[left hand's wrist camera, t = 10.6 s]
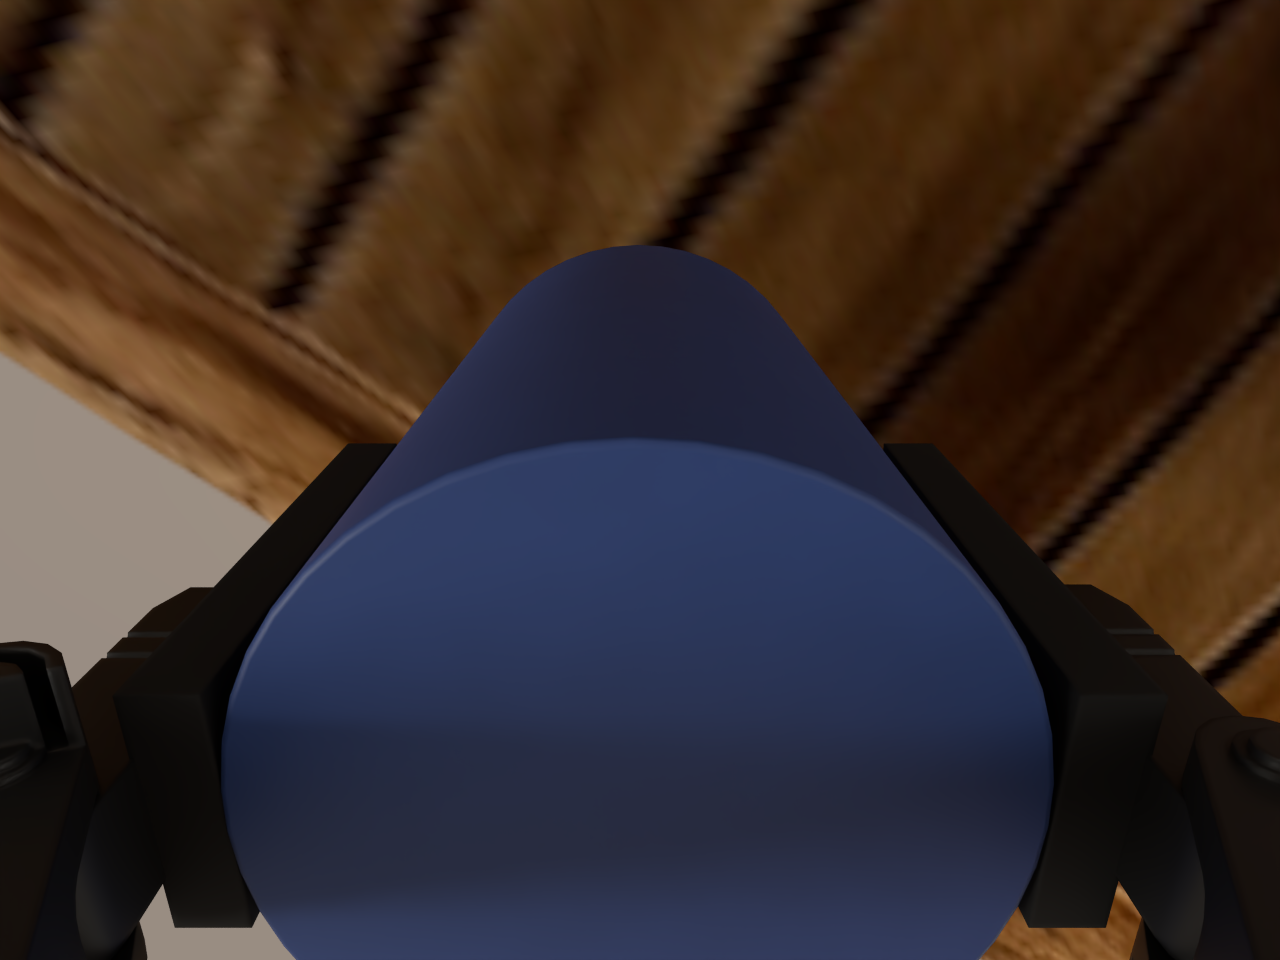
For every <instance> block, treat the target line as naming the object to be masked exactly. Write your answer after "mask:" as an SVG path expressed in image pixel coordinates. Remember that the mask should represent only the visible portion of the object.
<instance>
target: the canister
mask: <svg viewBox="0 0 1280 960" xmlns="http://www.w3.org/2000/svg"><path fill="white" fill-rule="evenodd" d="M1053 787H1054V770H1053V743H1052V732H1051V727H1050V722H1049V717H1048V712H1047V708H1046V703H1045V698H1044V693H1043V689H1042V687H1041V684H1040V682H1039V679H1038V677H1037V674H1036V672H1035V669H1034V667H1033V664H1032V662H1031V659H1030V656H1029V654H1028V651H1027V649H1026V646H1025V645H1024V643H1023V641H1022V640H1021V638H1020V636H1019V635H1018V633H1017V631H1016V630H1015V628H1014V626H1013V625H1012V623H1011V621H1010V620H1009V618H1008V616H1007V615H1006V613H1005V611H1004V610H1003V608H1002V606H1001V605H1000V603H999V602H998V600H997V599H996V598H995V596H994V595H993V594H992V593H991V591H990V590H989V589H988V587H987V586H986V585H985V583H984V582H983V581H982V579H981V578H980V577H979V576H978V574H977V573H976V572H975V570H974V569H973V568H972V566H971V565H970V564H969V562H968V561H967V560H966V558H965V557H964V556H963V555H962V553H961V552H960V551H959V549H958V548H957V547H956V545H955V544H954V543H953V541H952V540H951V539H950V538H949V536H948V535H947V534H946V532H945V531H944V530H943V528H942V527H941V526H940V524H939V523H938V522H937V520H936V519H935V518H934V517H933V515H932V514H931V513H930V511H929V510H928V509H927V507H926V506H925V505H924V503H923V502H922V501H921V500H920V498H919V497H918V496H917V494H916V493H915V492H914V490H913V489H912V488H911V486H910V485H909V484H908V482H907V481H906V480H905V479H904V477H903V476H902V475H901V473H900V472H899V471H898V469H897V468H896V467H895V465H894V464H893V463H892V462H891V460H890V459H889V458H888V456H887V455H886V454H885V452H884V451H883V450H882V448H881V447H880V446H879V444H878V443H877V442H876V441H875V439H874V438H873V437H872V435H871V434H870V433H869V431H868V430H867V429H866V427H865V426H864V425H863V424H862V422H861V421H860V420H859V418H858V417H857V416H856V414H855V413H854V412H853V410H852V409H851V408H850V406H849V405H848V404H847V403H846V401H845V400H844V399H843V397H842V396H841V395H840V393H839V392H838V391H837V389H836V388H835V387H834V385H833V384H832V383H831V382H830V380H829V379H828V378H827V376H826V375H825V374H824V372H823V371H822V370H821V368H820V367H819V366H818V365H817V363H816V362H815V361H814V359H813V358H812V357H811V355H810V354H809V353H808V351H807V350H806V349H805V347H804V346H803V345H802V344H801V342H800V341H799V340H798V338H797V337H796V336H795V334H794V333H793V332H792V330H791V329H790V328H789V327H788V325H787V324H786V323H785V321H784V320H783V319H782V317H781V316H780V315H779V314H778V312H777V311H776V310H775V309H774V308H773V306H772V305H771V304H770V303H769V302H768V300H767V299H766V298H765V297H764V296H763V295H761V294H760V293H759V292H758V291H757V290H756V289H755V288H754V287H753V286H752V285H750V284H749V283H748V282H747V281H745V280H744V279H742V278H741V277H739V276H738V275H736V274H735V273H733V272H732V271H731V270H729V269H727V268H725V267H723V266H721V265H719V264H717V263H715V262H713V261H711V260H709V259H707V258H704V257H701V256H698V255H695V254H692V253H689V252H686V251H682V250H676V249H671V248H666V247H660V246H643V245H633V246H619V247H611V248H606V249H601V250H597V251H592V252H588V253H585V254H583V255H580V256H577V257H574V258H572V259H569V260H566V261H564V262H562V263H561V264H559V265H557V266H555V267H553V268H551V269H549V270H547V271H545V272H544V273H543V274H541V275H540V276H538V277H537V278H536V279H534V280H533V281H531V282H530V283H529V284H527V285H526V286H525V287H524V288H523V289H522V290H521V291H520V292H518V293H517V294H516V295H515V296H514V297H513V298H512V299H511V300H510V301H509V302H508V304H507V305H506V306H505V307H504V308H503V310H502V311H501V312H500V313H499V315H498V316H497V317H496V318H495V320H494V321H493V322H492V324H491V325H490V326H489V327H488V329H487V330H486V331H485V333H484V334H483V335H482V337H481V338H480V339H479V340H478V342H477V343H476V344H475V346H474V347H473V348H472V349H471V351H470V352H469V353H468V355H467V356H466V357H465V358H464V360H463V361H462V362H461V364H460V365H459V366H458V368H457V369H456V370H455V371H454V373H453V374H452V375H451V377H450V378H449V379H448V380H447V382H446V383H445V384H444V386H443V387H442V388H441V389H440V391H439V392H438V393H437V395H436V396H435V397H434V398H433V400H432V401H431V402H430V404H429V405H428V406H427V408H426V409H425V410H424V411H423V413H422V414H421V415H420V417H419V418H418V419H417V420H416V422H415V423H414V424H413V426H412V427H411V428H410V429H409V431H408V432H407V433H406V435H405V436H404V437H403V438H402V440H401V441H400V442H399V444H398V445H397V446H396V448H395V449H394V450H393V451H392V453H391V454H390V455H389V457H388V458H387V459H386V460H385V462H384V463H383V464H382V466H381V467H380V468H379V469H378V471H377V472H376V473H375V475H374V476H373V477H372V479H371V480H370V481H369V482H368V484H367V485H366V486H365V488H364V489H363V490H362V491H361V493H360V494H359V495H358V497H357V498H356V499H355V500H354V502H353V503H352V504H351V506H350V507H349V508H348V509H347V511H346V512H345V513H344V515H343V516H342V517H341V519H340V520H339V521H338V522H337V524H336V525H335V526H334V528H333V529H332V530H331V531H330V533H329V534H328V535H327V537H326V538H325V539H324V540H323V542H322V543H321V544H320V546H319V547H318V548H317V550H316V551H315V552H314V553H313V555H312V556H311V557H310V559H309V560H308V561H307V562H306V564H305V565H304V566H303V568H302V569H301V570H300V571H299V573H298V574H297V575H296V577H295V578H294V579H293V580H292V582H291V583H290V584H289V586H288V587H287V588H286V590H285V591H284V592H283V593H282V595H281V596H280V597H279V599H278V600H277V601H276V602H275V604H274V605H273V606H272V608H271V609H270V611H269V612H268V614H267V616H266V618H265V619H264V621H263V623H262V625H261V627H260V628H259V630H258V632H257V634H256V635H255V637H254V639H253V641H252V642H251V644H250V646H249V648H248V649H247V651H246V654H245V656H244V659H243V662H242V664H241V667H240V670H239V673H238V675H237V678H236V681H235V683H234V686H233V689H232V692H231V694H230V698H229V704H228V709H227V714H226V720H225V725H224V731H223V736H222V749H221V793H222V799H223V806H224V812H225V819H226V825H227V832H228V835H229V838H230V841H231V844H232V847H233V850H234V854H235V857H236V860H237V863H238V866H239V869H240V872H241V874H242V876H243V878H244V880H245V882H246V884H247V886H248V888H249V890H250V892H251V894H252V896H253V898H254V900H255V902H256V904H257V906H258V908H259V910H260V912H261V913H262V915H263V916H264V918H265V919H266V921H267V922H268V924H269V925H270V926H271V928H272V929H273V931H274V932H275V934H276V935H277V937H278V938H279V939H280V941H281V942H282V944H283V945H284V947H285V948H286V949H287V950H288V951H289V952H290V953H291V954H292V955H293V957H294V958H295V959H296V960H979V959H980V958H981V957H982V955H983V954H984V953H985V952H986V951H987V950H988V949H989V947H990V946H991V945H992V944H993V943H994V942H995V940H996V939H997V937H998V936H999V934H1000V933H1001V931H1002V930H1003V928H1004V926H1005V925H1006V923H1007V922H1008V920H1009V919H1010V917H1011V916H1012V914H1013V913H1014V911H1015V910H1016V908H1017V907H1018V905H1019V903H1020V901H1021V899H1022V897H1023V894H1024V892H1025V890H1026V888H1027V886H1028V884H1029V882H1030V880H1031V877H1032V875H1033V873H1034V871H1035V869H1036V867H1037V863H1038V860H1039V856H1040V853H1041V850H1042V846H1043V843H1044V840H1045V836H1046V833H1047V830H1048V826H1049V818H1050V811H1051V803H1052V795H1053Z"/></svg>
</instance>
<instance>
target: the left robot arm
mask: <svg viewBox="0 0 1280 960" xmlns="http://www.w3.org/2000/svg"><path fill="white" fill-rule="evenodd" d="M396 446H397V444H347V445H346V446H345V448H344V449H343V450H342V451H341V452H340V453H339V454H338V455H337V456H336V457H335V458H334V459H333V460H332V461H331V463H330V464H329V465H328V466H327V467H326V468H325V469H324V470H323V471H322V472H321V473H320V474H319V475H318V476H317V477H316V479H315V480H314V481H313V482H312V483H311V484H310V485H309V486H308V487H307V488H306V489H305V490H304V491H303V492H302V493H301V495H300V496H299V497H298V498H297V499H296V500H295V501H294V502H293V503H292V504H291V505H290V506H289V507H288V508H287V510H286V511H285V512H284V513H283V514H282V515H281V516H280V517H279V518H278V519H277V520H276V521H275V522H274V523H273V524H272V526H271V527H270V528H269V529H268V530H267V531H266V532H265V533H264V534H263V535H262V536H261V537H260V538H259V539H258V541H257V542H256V543H255V544H254V545H253V546H252V547H251V548H250V549H249V550H248V551H247V552H246V553H245V554H244V555H243V557H242V558H241V559H240V560H239V561H238V562H237V563H236V564H235V565H234V566H233V567H232V568H231V569H230V570H229V571H228V573H227V574H226V575H225V576H224V577H223V578H222V579H221V580H220V581H219V582H218V583H217V584H216V585H215V586H214V587H191V588H189V589H187V590H185V591H183V592H181V593H180V594H178V595H176V596H174V597H172V598H171V599H169V600H167V601H165V602H163V603H161V604H160V605H158V606H156V607H154V608H153V609H152V610H151V611H150V612H149V613H147V614H146V615H145V616H144V617H143V618H142V619H141V620H140V621H139V622H138V623H137V624H136V625H135V626H134V627H133V628H132V629H131V630H130V631H129V632H128V637H127V638H122V639H121V640H120V641H119V642H118V643H117V644H116V645H115V646H114V647H113V648H112V649H111V650H110V651H109V652H108V653H107V658H102V659H101V660H99V661H98V662H97V663H96V664H95V665H94V666H93V667H92V668H91V669H90V670H89V671H88V672H87V673H86V674H85V675H84V676H83V677H82V678H81V679H80V680H79V681H78V682H77V683H76V684H75V685H74V686H73V687H71V684H70V680H69V677H68V674H67V670H66V666H65V663H64V660H63V656H62V653H61V652H59V651H58V650H56V649H55V648H53V647H52V646H50V645H48V644H44V643H36V642H28V641H18V642H7V643H0V960H147V952H146V945H145V939H144V936H143V932H142V929H141V925H140V922H139V921H140V919H141V917H142V916H143V914H144V913H145V911H146V909H147V908H148V906H149V905H150V903H151V902H152V900H153V899H154V897H155V895H156V894H157V892H158V891H159V889H160V887H161V886H162V884H163V886H164V889H165V893H166V897H167V901H168V904H169V908H170V912H171V915H172V919H173V923H174V926H175V928H252V926H253V924H254V922H255V920H256V918H257V916H258V914H259V912H260V910H259V908H258V906H257V904H256V902H255V900H254V898H253V896H252V894H251V892H250V890H249V888H248V886H247V884H246V882H245V880H244V878H243V876H242V874H241V872H240V869H239V866H238V863H237V860H236V857H235V854H234V850H233V847H232V844H231V841H230V838H229V835H228V832H227V825H226V819H225V812H224V806H223V799H222V793H221V749H222V736H223V731H224V725H225V720H226V714H227V709H228V704H229V698H230V694H231V692H232V689H233V686H234V683H235V681H236V678H237V675H238V673H239V670H240V667H241V664H242V662H243V659H244V656H245V654H246V651H247V649H248V648H249V646H250V644H251V642H252V641H253V639H254V637H255V635H256V634H257V632H258V630H259V628H260V627H261V625H262V623H263V621H264V619H265V618H266V616H267V614H268V612H269V611H270V609H271V608H272V606H273V605H274V604H275V602H276V601H277V600H278V599H279V597H280V596H281V595H282V593H283V592H284V591H285V590H286V588H287V587H288V586H289V584H290V583H291V582H292V580H293V579H294V578H295V577H296V575H297V574H298V573H299V571H300V570H301V569H302V568H303V566H304V565H305V564H306V562H307V561H308V560H309V559H310V557H311V556H312V555H313V553H314V552H315V551H316V550H317V548H318V547H319V546H320V544H321V543H322V542H323V540H324V539H325V538H326V537H327V535H328V534H329V533H330V531H331V530H332V529H333V528H334V526H335V525H336V524H337V522H338V521H339V520H340V519H341V517H342V516H343V515H344V513H345V512H346V511H347V509H348V508H349V507H350V506H351V504H352V503H353V502H354V500H355V499H356V498H357V497H358V495H359V494H360V493H361V491H362V490H363V489H364V488H365V486H366V485H367V484H368V482H369V481H370V480H371V479H372V477H373V476H374V475H375V473H376V472H377V471H378V469H379V468H380V467H381V466H382V464H383V463H384V462H385V460H386V459H387V458H388V457H389V455H390V454H391V453H392V451H393V450H394V449H395V448H396ZM883 451H884V452H885V454H886V455H887V456H888V458H889V459H890V460H891V462H892V463H893V464H894V465H895V467H896V468H897V469H898V471H899V472H900V473H901V475H902V476H903V477H904V479H905V480H906V481H907V482H908V484H909V485H910V486H911V488H912V489H913V490H914V492H915V493H916V494H917V496H918V497H919V498H920V500H921V501H922V502H923V503H924V505H925V506H926V507H927V509H928V510H929V511H930V513H931V514H932V515H933V517H934V518H935V519H936V520H937V522H938V523H939V524H940V526H941V527H942V528H943V530H944V531H945V532H946V534H947V535H948V536H949V538H950V539H951V540H952V541H953V543H954V544H955V545H956V547H957V548H958V549H959V551H960V552H961V553H962V555H963V556H964V557H965V558H966V560H967V561H968V562H969V564H970V565H971V566H972V568H973V569H974V570H975V572H976V573H977V574H978V576H979V577H980V578H981V579H982V581H983V582H984V583H985V585H986V586H987V587H988V589H989V590H990V591H991V593H992V594H993V595H994V596H995V598H996V599H997V600H998V602H999V603H1000V605H1001V606H1002V608H1003V610H1004V611H1005V613H1006V615H1007V616H1008V618H1009V620H1010V621H1011V623H1012V625H1013V626H1014V628H1015V630H1016V631H1017V633H1018V635H1019V636H1020V638H1021V640H1022V641H1023V643H1024V645H1025V646H1026V649H1027V651H1028V654H1029V656H1030V659H1031V662H1032V664H1033V667H1034V669H1035V672H1036V674H1037V677H1038V679H1039V682H1040V684H1041V687H1042V689H1043V693H1044V698H1045V703H1046V708H1047V712H1048V717H1049V722H1050V727H1051V732H1052V743H1053V770H1054V787H1053V795H1052V803H1051V811H1050V818H1049V826H1048V830H1047V833H1046V836H1045V840H1044V843H1043V846H1042V850H1041V853H1040V856H1039V860H1038V863H1037V867H1036V869H1035V871H1034V873H1033V875H1032V877H1031V880H1030V882H1029V884H1028V886H1027V888H1026V890H1025V892H1024V894H1023V897H1022V899H1021V901H1020V903H1019V905H1018V907H1019V909H1020V911H1021V913H1022V915H1023V917H1024V919H1025V921H1026V923H1027V925H1028V927H1029V928H1106V925H1107V921H1108V918H1109V914H1110V910H1111V907H1112V903H1113V899H1114V896H1115V892H1116V888H1117V885H1118V881H1119V882H1120V883H1121V885H1122V887H1123V888H1124V890H1125V891H1126V893H1127V894H1128V896H1129V898H1130V899H1131V901H1132V902H1133V904H1134V905H1135V907H1136V909H1137V910H1138V912H1139V913H1140V915H1141V916H1142V918H1141V922H1140V925H1139V929H1138V932H1137V936H1136V939H1135V942H1134V946H1133V949H1132V953H1131V956H1130V960H1280V723H1278V722H1274V721H1271V720H1268V719H1264V718H1255V717H1246V716H1242V715H1241V714H1240V713H1239V712H1238V711H1237V710H1236V709H1235V708H1234V707H1233V706H1232V705H1231V704H1230V703H1229V702H1228V701H1227V700H1226V699H1225V698H1224V697H1223V696H1221V695H1220V694H1219V693H1218V692H1217V691H1216V690H1215V689H1214V688H1213V687H1212V686H1211V685H1210V684H1209V683H1208V682H1207V681H1206V680H1205V679H1204V678H1203V677H1202V676H1201V675H1200V674H1199V673H1198V672H1197V671H1196V670H1195V669H1194V668H1193V667H1192V666H1191V665H1190V664H1188V663H1187V662H1186V661H1185V660H1184V659H1183V658H1182V657H1181V656H1180V655H1175V653H1174V649H1173V648H1172V647H1171V646H1170V645H1169V644H1168V643H1167V642H1166V641H1165V640H1164V639H1163V638H1162V637H1161V636H1160V635H1159V634H1154V632H1153V631H1154V630H1153V629H1152V628H1151V627H1150V626H1149V625H1148V624H1147V623H1146V622H1145V621H1144V620H1143V619H1142V618H1141V617H1140V616H1139V615H1138V614H1137V613H1136V612H1135V611H1134V610H1133V609H1132V608H1131V607H1130V606H1129V605H1127V604H1125V603H1123V602H1122V601H1120V600H1118V599H1116V598H1114V597H1112V596H1111V595H1109V594H1107V593H1105V592H1103V591H1102V590H1100V589H1098V588H1096V587H1094V586H1092V585H1064V584H1063V583H1062V582H1061V580H1060V579H1059V578H1058V577H1057V576H1056V575H1055V574H1054V573H1053V572H1052V571H1051V570H1050V569H1049V568H1048V567H1047V565H1046V564H1045V563H1044V562H1043V561H1042V560H1041V559H1040V558H1039V557H1038V556H1037V555H1036V554H1035V553H1034V552H1033V551H1032V549H1031V548H1030V547H1029V546H1028V545H1027V544H1026V543H1025V542H1024V541H1023V540H1022V539H1021V538H1020V537H1019V536H1018V535H1017V533H1016V532H1015V531H1014V530H1013V529H1012V528H1011V527H1010V526H1009V525H1008V524H1007V523H1006V522H1005V521H1004V520H1003V518H1002V517H1001V516H1000V515H999V514H998V513H997V512H996V511H995V510H994V509H993V508H992V507H991V506H990V505H989V504H988V502H987V501H986V500H985V499H984V498H983V497H982V496H981V495H980V494H979V493H978V492H977V491H976V490H975V489H974V488H973V486H972V485H971V484H970V483H969V482H968V481H967V480H966V479H965V478H964V477H963V476H962V475H961V474H960V473H959V471H958V470H957V469H956V468H955V467H954V466H953V465H952V464H951V463H950V462H949V461H948V460H947V459H946V458H945V457H944V455H943V454H942V453H941V452H940V451H939V450H938V449H937V448H936V447H935V446H934V445H933V444H884V449H883Z"/></svg>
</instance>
